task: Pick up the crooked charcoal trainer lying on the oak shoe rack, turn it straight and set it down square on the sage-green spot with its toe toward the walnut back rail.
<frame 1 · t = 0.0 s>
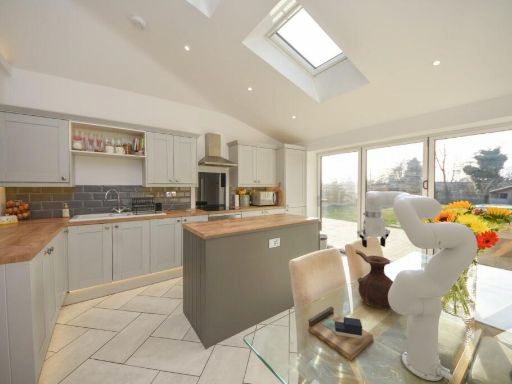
hand: (373, 246, 114), 37 cm above the table, tool pointing down, fingers open, 9 cm apart
shoe rack: (339, 335, 101), on the table
jug: (378, 303, 125), on the table
trainer: (347, 333, 99), point 3 cm above the table, touching shoe rack
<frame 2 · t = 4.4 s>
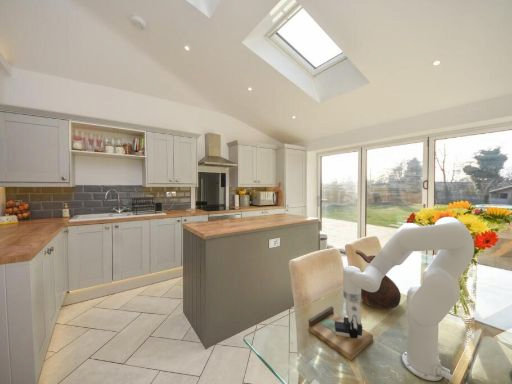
hand: (352, 332, 98), 3 cm above the table, tool pointing down, fingers closed on trainer, 5 cm apart
trainer: (347, 333, 99), point 3 cm above the table, touching gripper, shoe rack
everything else where it was.
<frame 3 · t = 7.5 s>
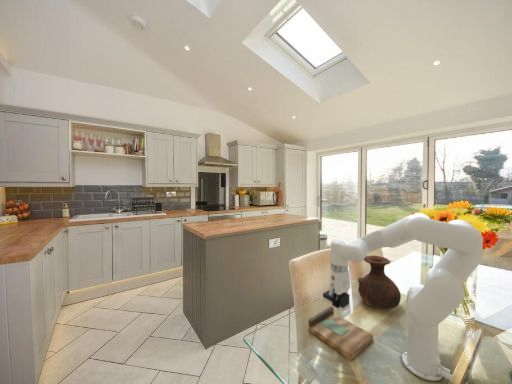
hand: (339, 304, 101), 15 cm above the table, tool pointing down, fingers closed on trainer, 5 cm apart
trainer: (335, 303, 102), point 14 cm above the table, touching gripper
everything else where it was.
when the fingers open (3 cm above the table, at t = 10.5 s): trainer stays where it is, resting on shoe rack.
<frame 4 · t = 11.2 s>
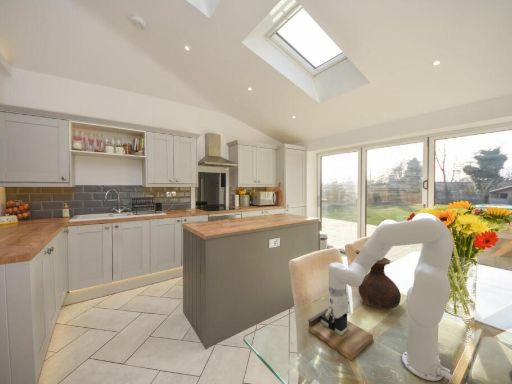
hand: (337, 324, 102), 5 cm above the table, tool pointing down, fingers open, 9 cm apart
trainer: (333, 326, 103), point 3 cm above the table, touching shoe rack
everything else where it was.
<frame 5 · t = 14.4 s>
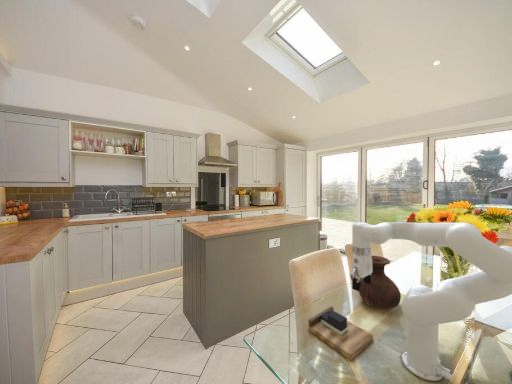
hand: (361, 286, 98), 24 cm above the table, tool pointing down, fingers open, 9 cm apart
nothing on the table moved.
at the end: trainer 0.1 cm from the target spot, point 2.7 cm above the table; trainer tilted 0°; the gripper is holding nothing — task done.
